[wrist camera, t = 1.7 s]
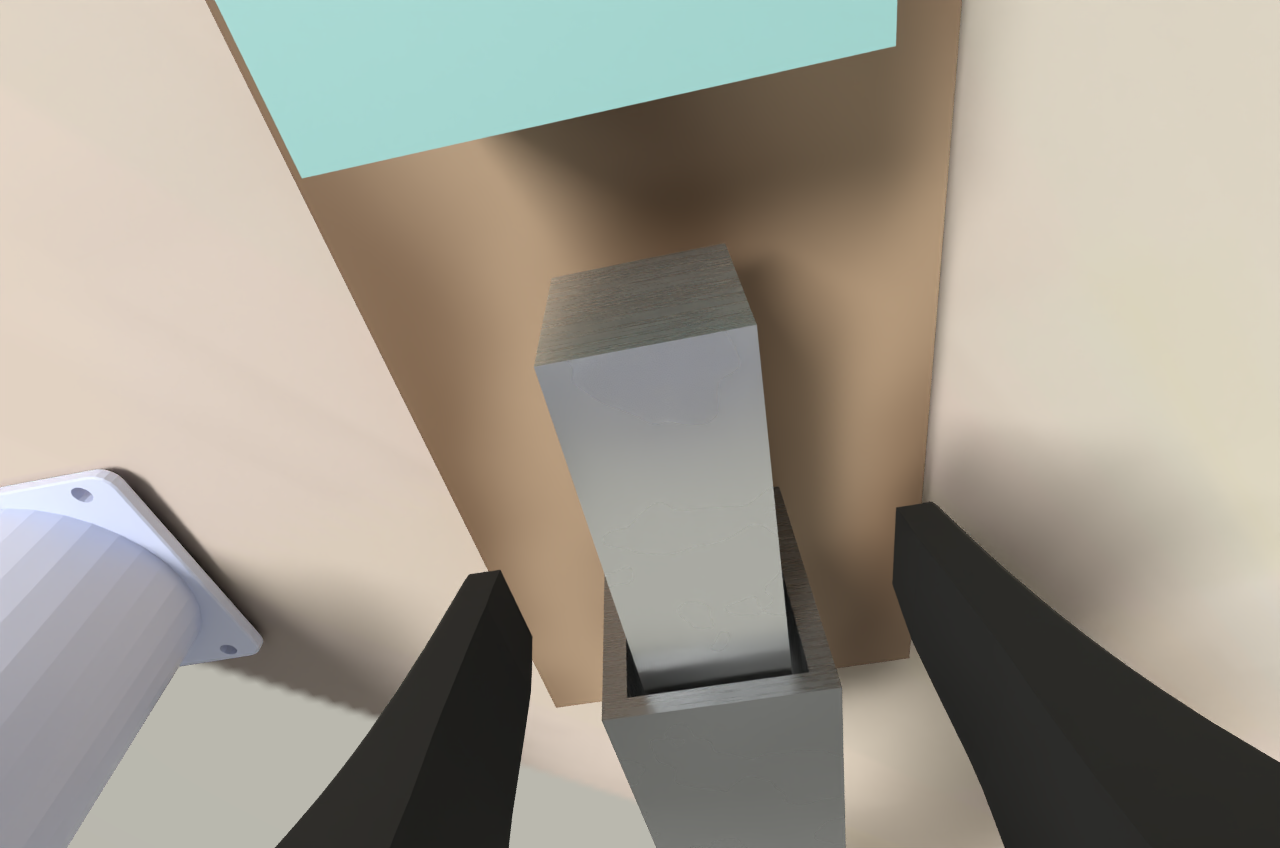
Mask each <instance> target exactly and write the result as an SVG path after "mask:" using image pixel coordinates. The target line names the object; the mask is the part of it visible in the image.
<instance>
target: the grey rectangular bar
mask: <svg viewBox="0 0 1280 848" xmlns="http://www.w3.org/2000/svg"><path fill="white" fill-rule="evenodd" d="M534 369H535V372H536V375H537V378H538V381H539V384H540V387H541V390H542V392H543V395H544V398H545V401H546V404H547V407H548V410H549V413H550V416H551V419H552V422H553V425H554V428H555V431H556V434H557V436H558V439H559V442H560V445H561V448H562V451H563V454H564V457H565V460H566V463H567V466H568V469H569V472H570V475H571V477H572V480H573V483H574V486H575V489H576V492H577V495H578V498H579V501H580V504H581V507H582V510H583V513H584V516H585V519H586V521H587V524H588V527H589V530H590V533H591V536H592V539H593V542H594V545H595V548H596V551H597V554H598V557H599V560H600V562H601V565H602V568H603V571H604V574H605V577H606V580H607V583H608V586H609V589H610V592H611V595H612V598H613V601H614V603H615V606H616V609H617V612H618V615H619V618H620V621H621V624H622V627H623V630H624V633H625V636H626V639H627V642H628V645H629V647H630V650H631V653H632V656H633V659H634V662H635V665H636V668H637V671H638V674H639V677H640V680H641V683H642V686H643V688H644V691H645V694H646V695H652V694H659V693H666V692H673V691H680V690H687V689H694V688H701V687H709V686H716V685H723V684H730V683H737V682H744V681H751V680H758V679H766V678H773V677H780V676H787V675H792V668H791V658H790V649H789V639H788V629H787V619H786V609H785V599H784V589H783V579H782V569H781V559H780V550H779V540H778V530H777V520H776V510H775V500H774V490H773V480H772V470H771V461H770V451H769V441H768V431H767V421H766V411H765V401H764V391H763V381H762V372H761V362H760V352H759V342H758V332H757V324H756V321H755V319H754V316H753V314H752V311H751V309H750V306H749V303H748V301H747V298H746V296H745V293H744V291H743V288H742V285H741V283H740V280H739V278H738V275H737V273H736V270H735V267H734V265H733V262H732V260H731V257H730V255H729V252H728V249H727V247H726V244H725V243H722V244H717V245H712V246H707V247H702V248H697V249H692V250H687V251H682V252H677V253H672V254H667V255H662V256H657V257H652V258H647V259H642V260H637V261H632V262H627V263H622V264H617V265H612V266H607V267H602V268H598V269H593V270H588V271H583V272H578V273H573V274H568V275H563V276H558V277H553V278H552V279H551V284H550V289H549V294H548V299H547V304H546V309H545V314H544V319H543V324H542V329H541V334H540V338H539V343H538V348H537V353H536V358H535V363H534Z"/></svg>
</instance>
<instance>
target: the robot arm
mask: <svg viewBox="0 0 1280 848" xmlns="http://www.w3.org/2000/svg"><path fill="white" fill-rule="evenodd" d="M892 585H893V588H894V591H895V593H896V596H897V599H898V602H899V605H900V608H901V611H902V614H903V617H904V620H905V622H906V625H907V628H908V631H909V634H910V636H911V639H912V641H913V643H914V645H915V648H916V650H917V652H918V654H919V656H920V658H921V660H922V662H923V664H924V666H925V668H926V671H927V673H928V675H929V677H930V679H931V681H932V683H933V685H934V687H935V689H936V691H937V693H938V695H939V698H940V700H941V702H942V704H943V706H944V708H945V710H946V712H947V714H948V716H949V718H950V720H951V722H952V724H953V726H954V728H955V730H956V733H957V735H958V737H959V739H960V741H961V743H962V745H963V747H964V749H965V751H966V753H967V755H968V757H969V759H970V761H971V764H972V766H973V768H974V771H975V773H976V775H977V777H978V780H979V782H980V784H981V787H982V789H983V791H984V794H985V797H986V799H987V802H988V805H989V807H990V810H991V813H992V815H993V818H994V820H995V823H996V826H997V828H998V831H999V834H1000V836H1001V839H1002V842H1003V844H1004V847H1005V848H1280V762H1278V761H1276V760H1275V759H1273V758H1271V757H1270V756H1268V755H1266V754H1265V753H1263V752H1261V751H1260V750H1258V749H1256V748H1255V747H1253V746H1251V745H1249V744H1248V743H1246V742H1244V741H1243V740H1241V739H1239V738H1238V737H1236V736H1234V735H1233V734H1231V733H1229V732H1228V731H1226V730H1224V729H1223V728H1221V727H1219V726H1218V725H1216V724H1214V723H1213V722H1211V721H1209V720H1208V719H1206V718H1205V717H1203V716H1201V715H1200V714H1198V713H1197V712H1195V711H1194V710H1192V709H1191V708H1189V707H1188V706H1186V705H1185V704H1183V703H1182V702H1180V701H1178V700H1177V699H1175V698H1174V697H1172V696H1171V695H1169V694H1168V693H1166V692H1165V691H1163V690H1162V689H1160V688H1159V687H1157V686H1156V685H1154V684H1153V683H1151V682H1150V681H1149V680H1147V679H1146V678H1144V677H1143V676H1141V675H1140V674H1138V673H1137V672H1135V671H1134V670H1133V669H1131V668H1130V667H1128V666H1127V665H1125V664H1124V663H1123V662H1121V661H1120V660H1119V659H1117V658H1116V657H1114V656H1113V655H1112V654H1110V653H1109V652H1108V651H1106V650H1105V649H1104V648H1102V647H1101V646H1099V645H1098V644H1097V643H1095V642H1094V641H1093V640H1091V639H1090V638H1089V637H1088V636H1086V635H1085V634H1084V633H1082V632H1081V631H1080V630H1079V629H1077V628H1076V627H1075V626H1073V625H1072V624H1071V623H1070V622H1068V621H1067V620H1066V619H1064V618H1063V617H1062V616H1061V615H1059V614H1058V613H1057V612H1056V611H1054V610H1053V609H1052V608H1051V607H1050V606H1048V605H1047V604H1046V603H1045V602H1043V601H1042V600H1041V599H1040V598H1039V597H1038V596H1036V595H1035V594H1034V593H1033V592H1032V591H1030V590H1029V589H1028V588H1027V587H1026V586H1025V585H1023V584H1022V583H1021V582H1020V581H1019V580H1018V579H1016V578H1015V577H1014V576H1013V575H1012V574H1010V573H1009V572H1008V571H1007V570H1006V569H1005V568H1004V567H1003V566H1001V565H1000V564H999V563H998V562H997V561H996V560H995V559H994V558H992V557H991V556H990V555H989V554H988V553H987V552H986V551H985V550H984V549H983V548H982V547H980V546H979V545H978V544H977V543H976V542H975V541H974V540H973V539H972V538H971V537H970V536H969V535H968V534H966V533H965V532H964V531H963V530H962V529H961V528H960V527H959V526H958V525H957V524H956V523H955V522H954V521H953V520H952V519H951V518H950V517H949V516H948V515H947V514H946V513H945V512H943V511H942V510H941V509H940V508H939V507H938V506H937V505H936V504H934V503H933V502H928V503H921V504H915V505H909V506H902V507H896V519H895V539H894V560H893V580H892ZM532 639H533V637H532V634H531V632H530V630H529V628H528V626H527V624H526V622H525V620H524V618H523V616H522V614H521V612H520V609H519V607H518V605H517V603H516V601H515V599H514V597H513V595H512V593H511V591H510V589H509V587H508V584H507V582H506V580H505V578H504V576H503V574H502V572H501V570H495V571H489V572H482V573H476V574H470V575H468V577H467V578H466V579H465V581H464V583H463V584H462V586H461V588H460V589H459V591H458V593H457V594H456V596H455V598H454V600H453V601H452V603H451V605H450V606H449V608H448V610H447V611H446V613H445V615H444V616H443V618H442V620H441V622H440V623H439V625H438V627H437V628H436V630H435V632H434V633H433V635H432V637H431V638H430V640H429V641H428V643H427V645H426V646H425V648H424V650H423V651H422V653H421V654H420V656H419V657H418V659H417V661H416V662H415V664H414V665H413V667H412V669H411V670H410V672H409V673H408V675H407V677H406V678H405V680H404V681H403V683H402V684H401V686H400V687H399V689H398V690H397V692H396V693H395V695H394V696H393V698H392V699H391V701H390V702H389V704H388V705H387V706H386V708H385V709H384V711H383V712H382V714H381V715H380V717H379V718H378V720H377V721H376V722H375V724H374V725H373V727H372V728H371V730H370V731H369V733H368V734H367V736H366V737H365V738H364V739H363V741H362V742H361V744H360V745H359V746H358V748H357V749H356V750H355V752H354V753H353V754H352V756H351V757H350V758H349V760H348V761H347V762H346V764H345V765H344V766H343V767H342V769H341V770H340V771H339V773H338V774H337V775H336V776H335V778H334V779H333V780H332V781H331V783H330V784H329V785H328V786H327V788H326V789H325V790H324V791H323V793H322V794H321V795H320V796H319V798H318V799H317V800H316V801H315V802H314V804H313V805H312V806H311V807H310V808H309V810H307V812H306V813H305V814H304V815H303V816H302V818H301V819H300V820H299V821H298V822H297V824H296V825H295V826H294V827H293V828H292V829H291V830H290V831H289V833H288V834H287V835H286V836H285V837H284V838H283V839H282V840H281V842H280V843H279V844H278V845H277V846H276V847H275V848H509V840H510V831H511V830H510V829H511V822H512V813H513V807H514V800H515V794H516V788H517V781H518V774H519V768H520V762H521V755H522V749H523V742H524V736H525V729H526V722H527V715H528V708H529V701H530V694H531V677H532ZM262 644H263V638H262V637H261V635H260V634H259V633H258V632H257V631H256V629H255V628H254V627H253V626H252V625H251V624H250V623H249V621H248V620H247V619H246V618H245V617H244V616H243V615H242V613H241V612H240V611H239V610H238V609H237V608H236V607H235V605H234V604H233V603H232V602H231V601H230V600H229V599H228V598H227V596H226V595H225V594H224V593H223V592H222V591H221V590H220V588H219V587H218V586H217V585H216V584H215V583H214V582H213V580H212V579H211V578H210V577H209V576H208V575H207V574H206V573H205V571H204V570H203V569H202V568H201V567H200V566H199V565H198V563H197V562H196V561H195V560H194V559H193V558H192V557H191V555H190V554H189V553H188V552H187V551H186V550H185V549H184V547H183V546H182V545H181V544H180V543H179V542H178V541H177V540H176V538H175V537H174V536H173V535H172V534H171V533H170V532H169V530H168V529H167V528H166V527H165V526H164V525H163V524H162V522H161V521H160V520H159V519H158V518H157V517H156V516H155V514H154V513H153V512H152V511H151V510H150V509H149V508H148V507H147V505H146V504H145V503H144V502H143V501H142V500H141V499H140V497H139V496H138V495H137V494H136V493H135V492H134V491H133V489H132V488H131V487H130V486H129V485H128V484H127V483H126V481H125V480H124V479H123V478H121V477H120V476H119V475H118V474H116V473H114V472H112V471H108V470H103V469H98V470H90V471H85V472H79V473H74V474H68V475H63V476H58V477H52V478H47V479H42V480H36V481H31V482H25V483H20V484H15V485H9V486H4V487H0V848H67V847H68V845H69V843H70V842H71V840H72V839H73V837H74V835H75V834H76V832H77V831H78V829H79V827H80V826H81V824H82V822H83V821H84V819H85V818H86V816H87V814H88V813H89V811H90V810H91V808H92V806H93V805H94V803H95V801H96V800H97V798H98V796H99V795H100V793H101V792H102V790H103V788H104V787H105V785H106V783H107V782H108V780H109V779H110V777H111V776H112V774H113V772H114V771H115V769H116V767H117V766H118V764H119V763H120V761H121V759H122V758H123V756H124V754H125V753H126V751H127V750H128V748H129V746H130V745H131V743H132V741H133V740H134V738H135V737H136V735H137V733H138V732H139V730H140V729H141V727H142V725H143V724H144V722H145V721H146V719H147V717H148V716H149V714H150V712H151V711H152V709H153V708H154V706H155V704H156V703H157V701H158V699H159V698H160V696H161V694H162V693H163V691H164V690H165V688H166V686H167V685H168V683H169V682H170V680H171V678H172V677H173V675H174V674H175V672H176V670H177V669H178V667H179V666H185V665H192V664H198V663H205V662H211V661H218V660H224V659H231V658H237V657H244V656H250V655H253V654H256V653H257V652H258V651H259V650H260V648H261V646H262Z"/></svg>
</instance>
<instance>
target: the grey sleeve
mask: <svg viewBox="0 0 1280 848" xmlns="http://www.w3.org/2000/svg"><path fill="white" fill-rule="evenodd" d="M773 490H774V500H775V510H776V520H777V530H778V540H779V550H780V559H781V569H782V579H783V589H784V599H785V609H786V619H787V629H788V639H789V649H790V658H791V668H792V675H787V676H780V677H773V678H766V679H758V680H751V681H744V682H737V683H730V684H723V685H716V686H709V687H701V688H694V689H687V690H680V691H673V692H666V693H659V694H652V695H646V694H645V691H644V688H643V686H642V683H641V680H640V677H639V674H638V671H637V668H636V665H635V662H634V659H633V656H632V653H631V650H630V647H629V645H628V642H627V639H626V636H625V633H624V630H623V627H622V624H621V621H620V618H619V615H618V612H617V609H616V606H615V603H614V601H613V598H612V595H611V592H610V589H609V586H608V583H607V580H606V577H605V574H604V630H603V687H602V722H603V724H604V727H605V729H606V731H607V734H608V736H609V738H610V741H611V743H612V745H613V748H614V750H615V752H616V755H617V757H618V759H619V762H620V764H621V766H622V769H623V771H624V773H625V776H626V778H627V780H628V783H629V785H630V787H631V790H632V792H633V794H634V797H635V799H636V801H637V804H638V806H639V808H640V810H641V813H642V815H643V817H644V820H645V822H646V824H647V827H648V829H649V831H650V834H651V836H652V838H653V841H654V843H655V845H656V848H846V842H845V800H844V758H843V716H842V687H841V683H840V680H839V677H838V674H837V671H836V667H835V664H834V661H833V658H832V655H831V651H830V648H829V645H828V642H827V638H826V635H825V632H824V629H823V626H822V622H821V619H820V616H819V613H818V610H817V606H816V603H815V600H814V597H813V594H812V590H811V587H810V584H809V581H808V577H807V574H806V571H805V568H804V565H803V561H802V558H801V555H800V552H799V549H798V545H797V542H796V539H795V536H794V533H793V529H792V526H791V523H790V520H789V516H788V513H787V510H786V507H785V504H784V500H783V497H782V494H781V491H780V488H779V486H778V487H773Z"/></svg>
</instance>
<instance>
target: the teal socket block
mask: <svg viewBox="0 0 1280 848" xmlns="http://www.w3.org/2000/svg"><path fill="white" fill-rule="evenodd" d="M215 2H216V4H217V6H218V8H219V10H220V12H221V14H222V16H223V18H224V20H225V22H226V24H227V26H228V28H229V30H230V32H231V34H232V36H233V38H234V41H235V43H236V45H237V47H238V49H239V51H240V53H241V55H242V57H243V59H244V61H245V63H246V65H247V67H248V69H249V71H250V73H251V75H252V77H253V79H254V81H255V83H256V86H257V88H258V90H259V92H260V94H261V96H262V98H263V100H264V102H265V104H266V106H267V108H268V110H269V112H270V114H271V116H272V118H273V120H274V122H275V124H276V126H277V128H278V131H279V133H280V135H281V137H282V139H283V141H284V143H285V145H286V147H287V149H288V151H289V153H290V155H291V157H292V159H293V161H294V163H295V165H296V167H297V169H298V171H299V173H300V176H301V178H306V177H311V176H315V175H320V174H324V173H329V172H333V171H338V170H342V169H347V168H351V167H355V166H360V165H364V164H369V163H373V162H378V161H382V160H387V159H391V158H396V157H400V156H405V155H409V154H414V153H418V152H423V151H427V150H432V149H436V148H441V147H445V146H450V145H454V144H459V143H463V142H468V141H472V140H477V139H481V138H486V137H490V136H494V135H499V134H503V133H508V132H512V131H517V130H521V129H526V128H530V127H535V126H539V125H544V124H548V123H553V122H557V121H562V120H566V119H571V118H575V117H580V116H584V115H589V114H593V113H598V112H602V111H607V110H611V109H616V108H620V107H625V106H629V105H633V104H638V103H642V102H647V101H651V100H656V99H660V98H665V97H669V96H674V95H678V94H683V93H687V92H692V91H696V90H701V89H705V88H710V87H714V86H719V85H723V84H728V83H732V82H737V81H741V80H746V79H750V78H755V77H759V76H764V75H768V74H773V73H777V72H781V71H786V70H790V69H795V68H799V67H804V66H808V65H813V64H817V63H822V62H826V61H831V60H835V59H840V58H844V57H849V56H853V55H858V54H862V53H867V52H871V51H876V50H880V49H885V48H889V47H894V46H896V28H897V0H215Z"/></svg>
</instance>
